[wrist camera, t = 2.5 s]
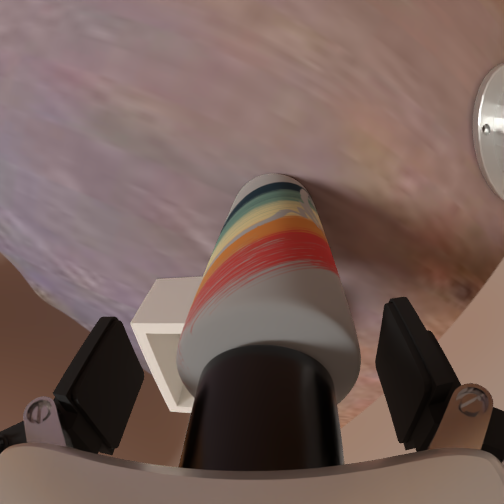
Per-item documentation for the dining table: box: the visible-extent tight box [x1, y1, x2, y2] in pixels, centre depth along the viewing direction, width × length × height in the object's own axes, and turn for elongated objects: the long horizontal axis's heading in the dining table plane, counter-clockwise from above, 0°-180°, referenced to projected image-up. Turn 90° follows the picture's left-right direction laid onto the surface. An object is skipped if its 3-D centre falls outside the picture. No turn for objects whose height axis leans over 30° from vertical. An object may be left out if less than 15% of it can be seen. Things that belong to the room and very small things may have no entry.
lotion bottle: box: [176, 174, 361, 471], centre depth 13 cm, size 6×6×20 cm
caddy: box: [130, 276, 203, 413], centre depth 25 cm, size 10×10×6 cm
